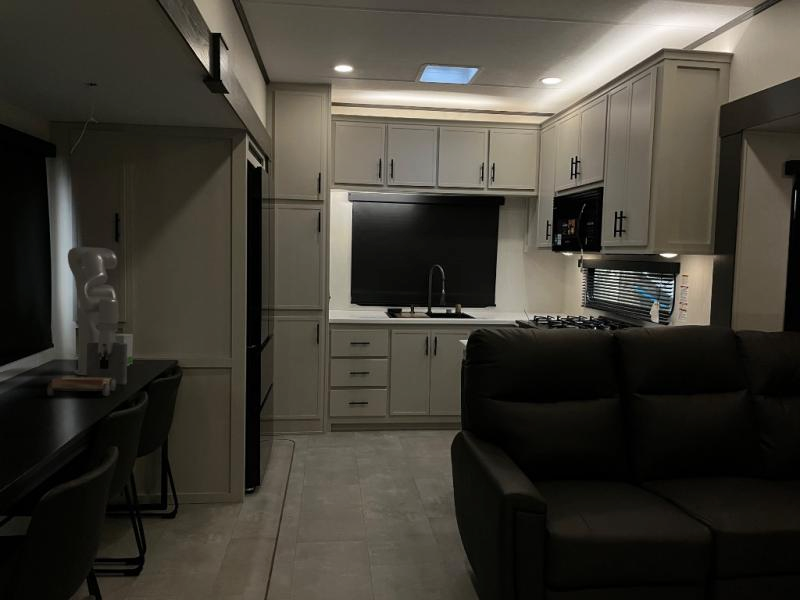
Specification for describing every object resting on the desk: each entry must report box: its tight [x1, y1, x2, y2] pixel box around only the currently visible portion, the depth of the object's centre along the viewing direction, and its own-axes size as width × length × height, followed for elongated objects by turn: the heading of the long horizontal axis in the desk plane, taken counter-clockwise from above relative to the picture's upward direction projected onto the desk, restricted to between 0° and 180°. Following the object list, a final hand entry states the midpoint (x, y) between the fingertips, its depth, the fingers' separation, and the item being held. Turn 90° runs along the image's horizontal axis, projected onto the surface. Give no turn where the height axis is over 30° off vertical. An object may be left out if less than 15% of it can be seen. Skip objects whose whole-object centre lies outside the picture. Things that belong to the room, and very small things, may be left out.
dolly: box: [46, 376, 117, 397], centre depth 238 cm, size 14×21×7 cm, turn 102°
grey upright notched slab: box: [85, 342, 128, 385], centre depth 257 cm, size 16×4×20 cm, turn 103°
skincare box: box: [115, 333, 134, 366], centre depth 298 cm, size 8×7×16 cm
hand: (107, 366), depth 257 cm, fingers open, 8 cm apart
